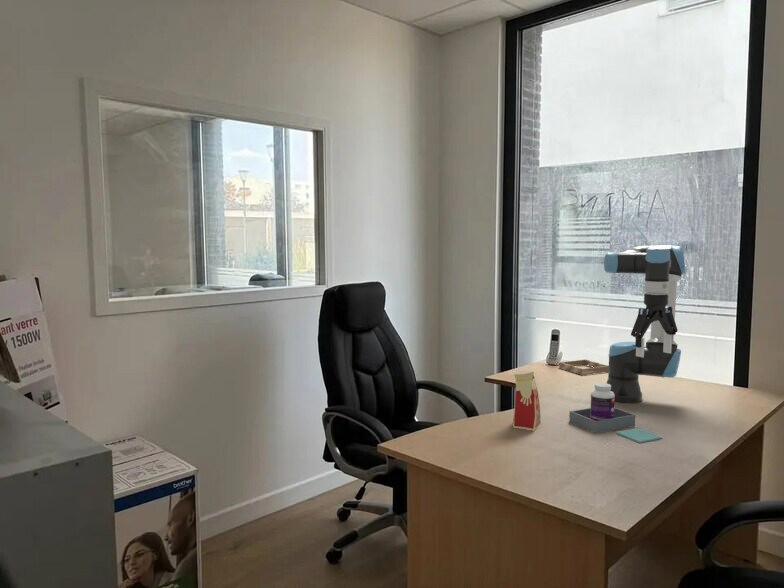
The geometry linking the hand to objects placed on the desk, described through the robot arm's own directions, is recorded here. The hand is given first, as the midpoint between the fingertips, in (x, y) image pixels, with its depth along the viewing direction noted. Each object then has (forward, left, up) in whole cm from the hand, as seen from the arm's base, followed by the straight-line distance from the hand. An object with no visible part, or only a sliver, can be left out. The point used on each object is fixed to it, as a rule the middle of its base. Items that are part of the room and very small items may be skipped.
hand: (653, 354), depth 203 cm
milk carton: (-21, -37, -27) cm, 51 cm away
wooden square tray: (-78, +41, -26) cm, 92 cm away
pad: (+4, -9, -26) cm, 28 cm away
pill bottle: (-11, -11, -27) cm, 31 cm away
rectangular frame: (-11, -11, -26) cm, 31 cm away
